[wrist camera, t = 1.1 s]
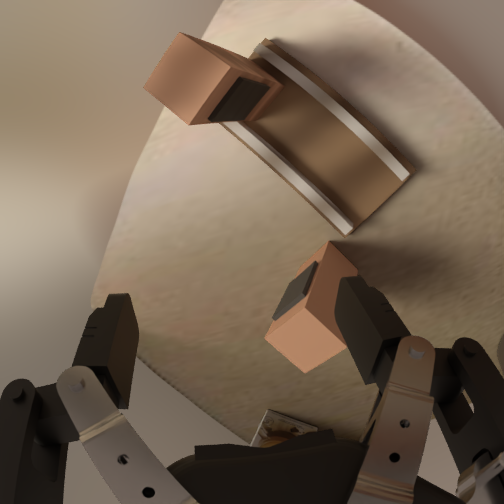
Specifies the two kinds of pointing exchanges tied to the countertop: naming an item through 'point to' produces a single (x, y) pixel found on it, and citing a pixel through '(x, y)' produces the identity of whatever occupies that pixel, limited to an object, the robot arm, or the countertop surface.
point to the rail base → (285, 124)
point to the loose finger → (311, 310)
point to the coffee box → (278, 430)
